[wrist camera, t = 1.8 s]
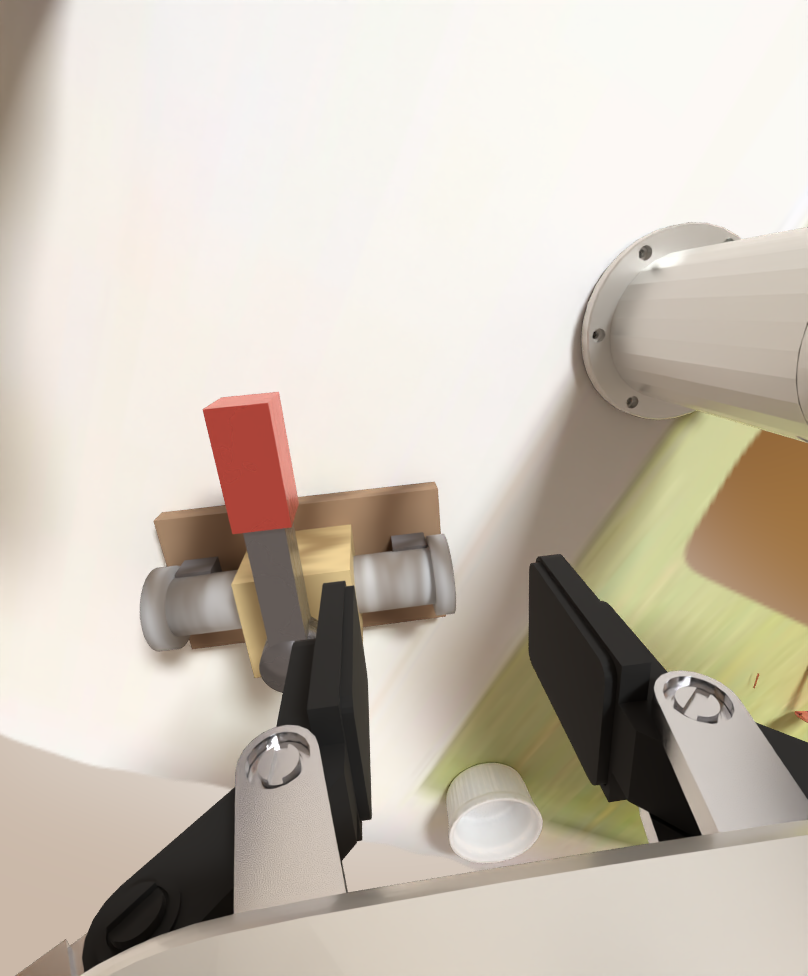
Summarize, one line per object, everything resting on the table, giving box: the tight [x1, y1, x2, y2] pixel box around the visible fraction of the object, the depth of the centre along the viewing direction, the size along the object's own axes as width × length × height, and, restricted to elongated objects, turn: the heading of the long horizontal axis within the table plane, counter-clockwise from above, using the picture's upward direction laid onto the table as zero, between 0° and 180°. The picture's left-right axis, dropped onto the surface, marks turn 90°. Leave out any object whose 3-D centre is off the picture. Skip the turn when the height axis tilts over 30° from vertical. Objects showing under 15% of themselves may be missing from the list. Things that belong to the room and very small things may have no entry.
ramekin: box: [446, 763, 543, 864], centre depth 46 cm, size 9×9×4 cm
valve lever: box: [203, 392, 318, 693], centre depth 25 cm, size 16×4×3 cm, turn 5°
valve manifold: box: [140, 482, 456, 678], centre depth 33 cm, size 20×11×9 cm, turn 95°
